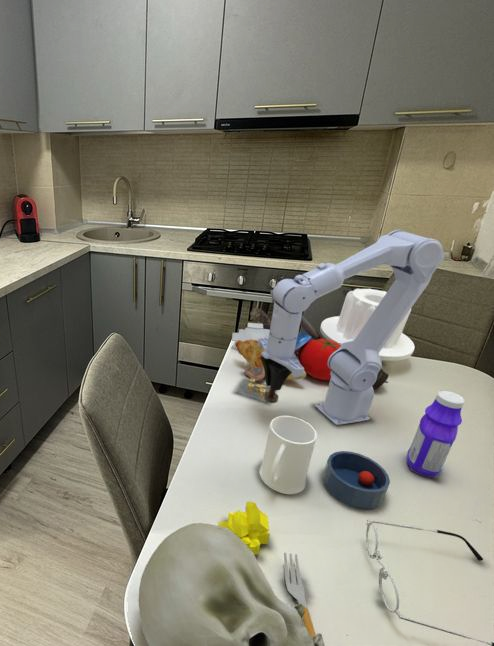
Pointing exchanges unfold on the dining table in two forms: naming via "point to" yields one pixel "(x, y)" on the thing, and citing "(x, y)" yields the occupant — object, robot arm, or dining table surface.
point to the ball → (366, 478)
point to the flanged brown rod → (271, 396)
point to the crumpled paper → (249, 526)
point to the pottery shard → (256, 373)
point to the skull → (214, 595)
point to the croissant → (256, 355)
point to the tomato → (317, 357)
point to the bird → (263, 318)
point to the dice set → (253, 390)
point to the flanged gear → (356, 316)
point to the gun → (309, 329)
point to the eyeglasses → (386, 574)
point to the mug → (287, 454)
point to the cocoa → (380, 379)
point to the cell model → (301, 341)
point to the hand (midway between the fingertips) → (273, 387)
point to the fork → (298, 591)
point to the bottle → (435, 434)
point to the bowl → (355, 480)
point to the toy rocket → (251, 333)
